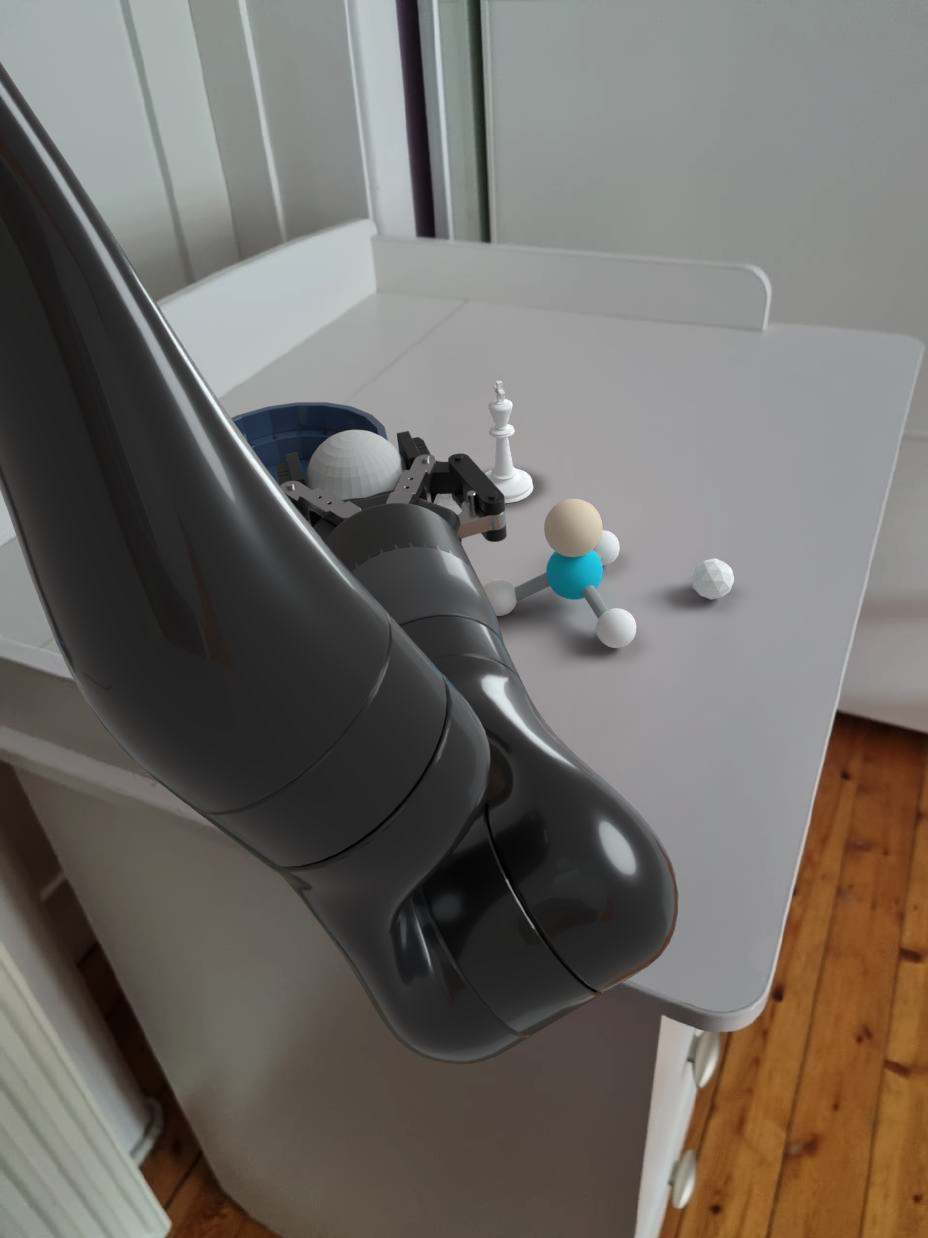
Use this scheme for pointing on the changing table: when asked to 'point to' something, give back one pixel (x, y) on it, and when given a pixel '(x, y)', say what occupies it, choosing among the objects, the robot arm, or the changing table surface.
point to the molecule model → (573, 570)
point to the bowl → (299, 430)
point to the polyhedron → (712, 578)
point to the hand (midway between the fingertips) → (349, 456)
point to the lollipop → (355, 465)
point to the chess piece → (506, 452)
